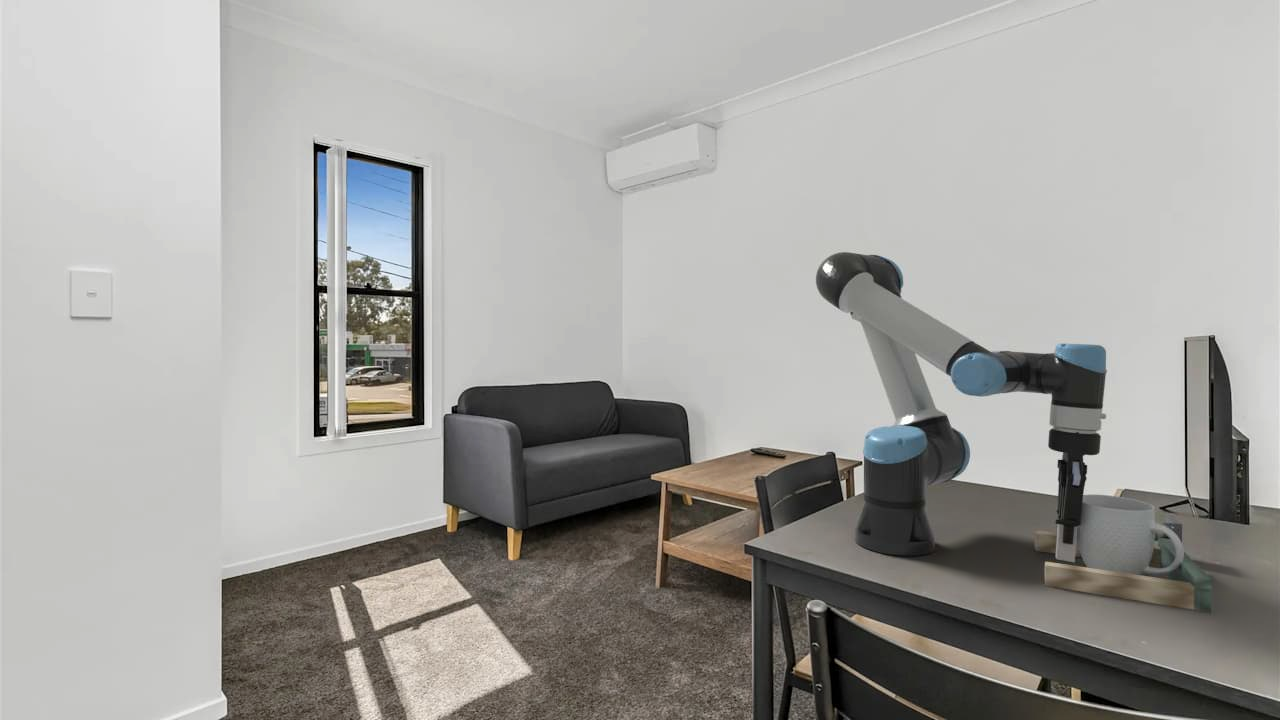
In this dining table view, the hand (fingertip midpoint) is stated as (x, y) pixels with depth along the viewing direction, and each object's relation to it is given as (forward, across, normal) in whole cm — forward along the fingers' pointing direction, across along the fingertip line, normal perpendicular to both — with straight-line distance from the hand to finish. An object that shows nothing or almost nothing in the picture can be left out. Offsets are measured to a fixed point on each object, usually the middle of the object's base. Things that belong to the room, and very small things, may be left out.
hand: (1065, 559), depth 109 cm
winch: (+1, +15, -15) cm, 22 cm away
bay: (+2, 0, -7) cm, 7 cm away
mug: (+2, 0, -8) cm, 8 cm away
